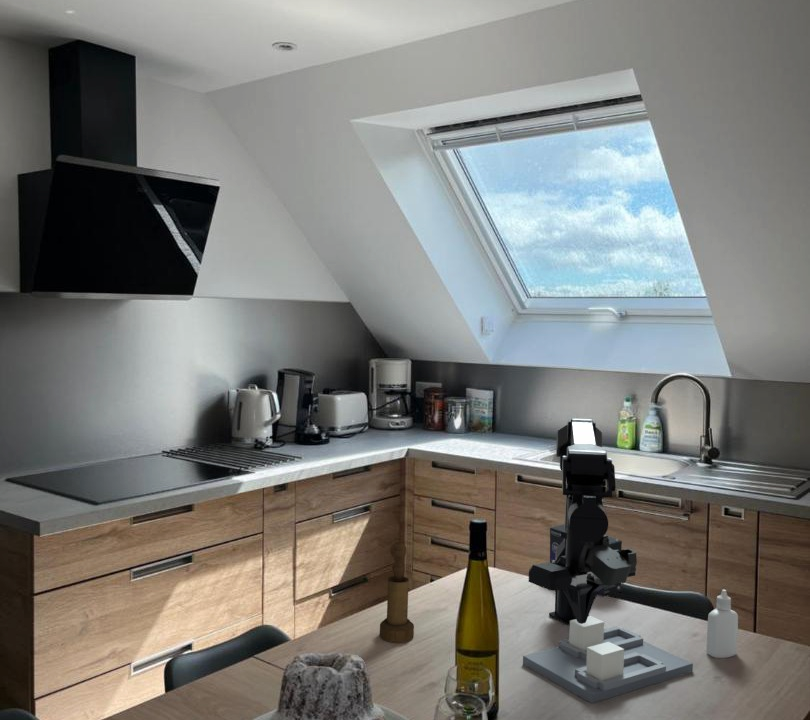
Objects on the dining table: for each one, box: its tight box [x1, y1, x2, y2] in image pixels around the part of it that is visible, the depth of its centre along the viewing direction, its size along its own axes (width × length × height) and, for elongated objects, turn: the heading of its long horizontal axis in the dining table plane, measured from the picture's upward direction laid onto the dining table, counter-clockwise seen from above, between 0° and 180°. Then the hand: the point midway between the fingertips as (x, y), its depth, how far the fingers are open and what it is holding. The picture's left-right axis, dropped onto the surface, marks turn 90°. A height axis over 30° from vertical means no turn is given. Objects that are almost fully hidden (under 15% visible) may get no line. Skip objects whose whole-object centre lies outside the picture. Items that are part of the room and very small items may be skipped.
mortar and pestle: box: [379, 541, 415, 644], centre depth 158 cm, size 7×6×18 cm
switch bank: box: [522, 626, 694, 704], centre depth 147 cm, size 17×24×2 cm
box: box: [549, 523, 623, 597], centre depth 192 cm, size 17×7×12 cm, turn 33°
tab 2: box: [586, 642, 624, 681], centre depth 139 cm, size 4×5×5 cm
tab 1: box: [568, 615, 605, 651], centre depth 151 cm, size 4×5×5 cm
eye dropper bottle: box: [706, 589, 739, 659], centre depth 153 cm, size 4×6×12 cm
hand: (581, 622), depth 136 cm, fingers closed
